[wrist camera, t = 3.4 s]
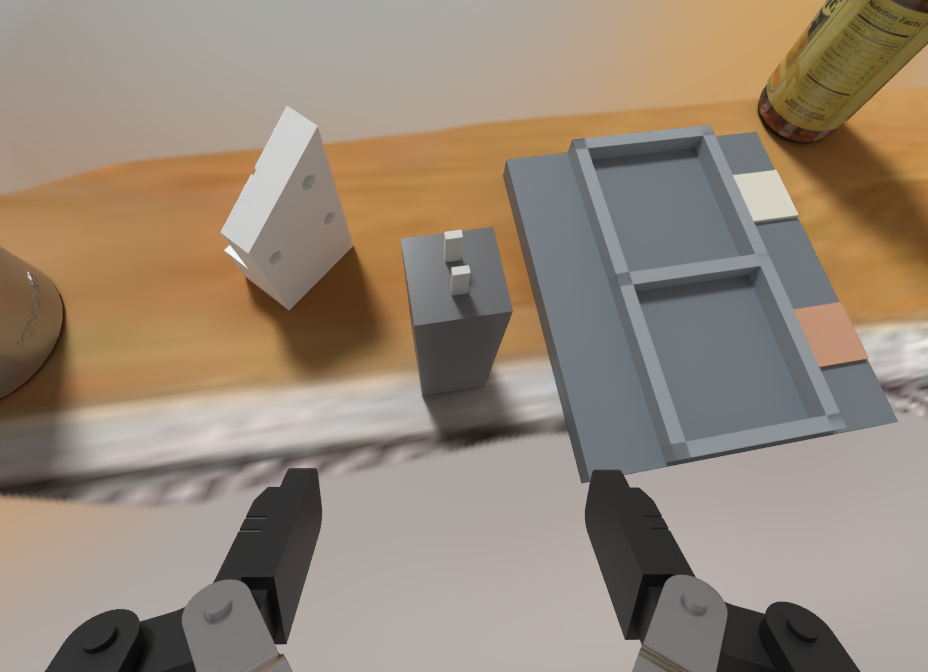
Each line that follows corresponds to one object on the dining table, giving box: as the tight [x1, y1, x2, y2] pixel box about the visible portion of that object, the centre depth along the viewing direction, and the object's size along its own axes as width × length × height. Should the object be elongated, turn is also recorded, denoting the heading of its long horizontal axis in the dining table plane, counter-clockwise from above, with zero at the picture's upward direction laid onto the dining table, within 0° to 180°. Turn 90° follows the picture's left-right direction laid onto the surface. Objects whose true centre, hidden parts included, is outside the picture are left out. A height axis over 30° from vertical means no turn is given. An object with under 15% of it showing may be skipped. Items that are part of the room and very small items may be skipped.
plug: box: [401, 227, 513, 397], centre depth 22 cm, size 4×4×13 cm
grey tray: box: [503, 125, 898, 483], centre depth 29 cm, size 18×21×3 cm
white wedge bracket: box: [221, 106, 354, 310], centre depth 27 cm, size 4×10×9 cm, turn 143°
